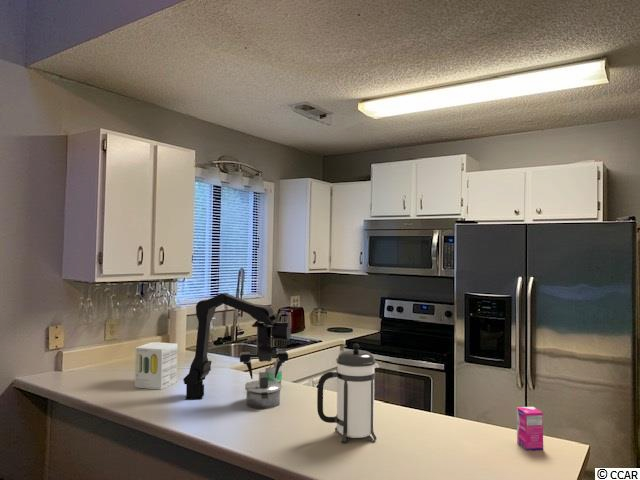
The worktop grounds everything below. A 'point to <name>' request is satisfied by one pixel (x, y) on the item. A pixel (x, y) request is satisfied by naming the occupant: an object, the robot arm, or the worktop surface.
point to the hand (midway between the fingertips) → (263, 378)
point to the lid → (263, 385)
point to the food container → (271, 373)
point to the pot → (263, 400)
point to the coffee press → (352, 394)
